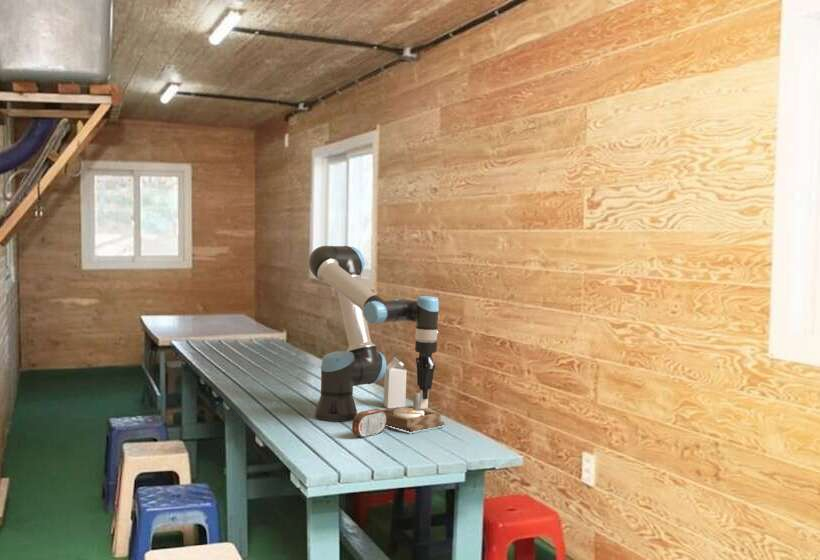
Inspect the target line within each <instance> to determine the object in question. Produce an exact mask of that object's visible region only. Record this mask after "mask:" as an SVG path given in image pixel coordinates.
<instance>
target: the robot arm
mask: <svg viewBox="0 0 820 560" xmlns="http://www.w3.org/2000/svg"><path fill="white" fill-rule="evenodd" d="M308 267H309V270H310V272H311V274H312V275H313V276H314V277H315V278H316V279H317V280H319V281H320V282H323V283H327V284H328V285H330V286H331V288H332V287H333V289H334V290H336V292H337V294H338V299H339V304H340V308H341V309H340V310H341V315H342V319H343V323H344V329H345V334H346V339H347V343H348V348H347V350H341V351H337V350H336V351H332V352H329V353H328V352H327V353H326V354H325V355H323V357H322V359H321V365H320V370H321V373H320V375H321V376H320V378H321V379H320V396H319V400H318V403H317V406H316V408H315V416H314V417H315V418H316V419H317V420H321V421H327V422H348V421H353V420H354V418H355V416H356V415H357V414H358V411H357V407H356V404H355V399H354V392H353V391H354V387H355V386H362V385H371V384H375V383H378V382H380V381H381V380H382V379H383V378H384V375H385V372H386V366H387V360H386V357H385V355H384V354H383V353H382V352H380V351H378V349H377V345H376V344H374V343H373V342H372V340H371V335H370V330H369V325H368V323H370V324H384V323H398V322H411V323H415V340H416V341H415V345H414V351H415V352H416V353H419V354H418V357H416V358H415V362H416V378H417V379H416V380H417V381H416V382H417V383H416V384H417V386H418V387H419V393H420V397H419V408H422V409H428V407H429V390H432V385H433V380H434V379H433V378H434V373H435V369H436V363H435V362H433V354H435V353H437V351H438V349H437V348H438V342H437V340H438V334H439V331H438V325H439V311H440V309H439V299H438V297H436V296H431V295H429V296H428V295H420V296H418V297H417V300H414V299H413V300H411V299H406V298H396V299H393V300H384V299H383V298H382V297H380V296H379V295H378V294H376V293H375V292H373V291H372V290H371V289H369V288H368V287H367V286H366V285H364V283H362V282H361V281H360V280H361V279H362V273H364V271H365V259H364V256H363V254H362V252H361V251H360V250H359V249H358V248H356V247H354V246H349V245H322V246H319V247H316V248H315V249H314V250H313V251H312V252H311V253H310V255H309V258H308Z"/></svg>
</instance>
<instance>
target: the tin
mask: <svg viewBox="0 0 820 560" xmlns="http://www.w3.org/2000/svg"><path fill="white" fill-rule="evenodd" d="M382 410H383V409H379V408H372V409H368V410H362V411H360V412H357V415H356V416H355V418H354V419H353V420H352V424H351V430H352V433H353V434H354V436H356V437H359V438H363V437H364V436H368V435H372V434H376V433H379V432H381V433H382V432H383V431H384V430H385V429H386V428H387V427H386V423H387V415H386V413H385V412H384V411H382ZM376 435H377V434H376ZM372 436H373V435H372ZM368 437H369V436H368ZM364 438H365V437H364Z"/></svg>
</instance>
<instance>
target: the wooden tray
mask: <svg viewBox="0 0 820 560" xmlns="http://www.w3.org/2000/svg"><path fill="white" fill-rule="evenodd" d="M400 408H413V405H405V406H404V407H398V408H387V409H381V410H382V411H384V412H385V413H386V415H387V423H386V425H388V426H392V427H395V428H399V429H403V430H406V431H409V432H413V431H418V430H423V429H428V428H434V427H438V426H442V425H444V426H445V421H444V420H443V421H442V420H441V419H442V418H441V417H442V414H441V413H439V412H436V411H431V410H427V408H422V410H423V411H424V415H421V416H419V417H413V418H404V417H401V416H397V415H394V414H393V411H394V410H395V409H400Z"/></svg>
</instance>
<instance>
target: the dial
mask: <svg viewBox="0 0 820 560" xmlns="http://www.w3.org/2000/svg"><path fill="white" fill-rule="evenodd" d="M419 397H420V392H414V393H413V402H412V403H413V405H412V406H413V408H400V409H395V410H394V411H393V414H394V415H397V416H401V417H404V418H413V417H419V416H421V415H424V411H423V410H422V409H423V408H419Z"/></svg>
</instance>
